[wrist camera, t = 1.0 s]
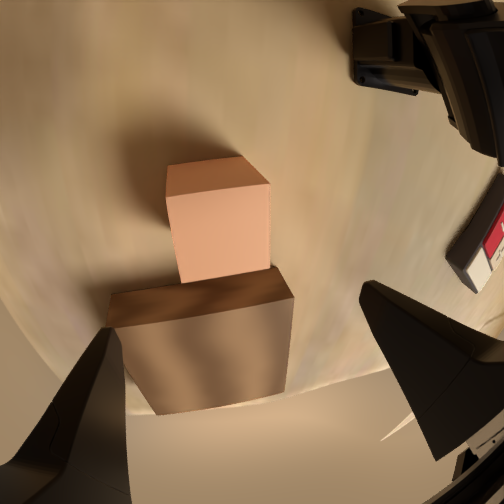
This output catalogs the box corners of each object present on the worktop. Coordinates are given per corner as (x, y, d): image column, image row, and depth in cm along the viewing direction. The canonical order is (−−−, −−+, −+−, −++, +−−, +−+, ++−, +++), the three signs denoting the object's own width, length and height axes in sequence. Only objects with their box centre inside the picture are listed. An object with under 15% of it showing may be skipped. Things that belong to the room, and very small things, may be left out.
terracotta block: (242, 155, 19) (270, 183, 14) (245, 222, 21) (269, 268, 16) (167, 165, 18) (165, 197, 13) (177, 232, 20) (181, 283, 15)
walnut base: (277, 267, 24) (294, 297, 21) (273, 364, 32) (284, 392, 28) (111, 294, 21) (105, 329, 18) (154, 385, 29) (156, 415, 26)
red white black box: (524, 220, 29) (479, 297, 33) (505, 209, 32) (461, 282, 36) (517, 180, 23) (466, 274, 27) (494, 169, 27) (443, 257, 31)
